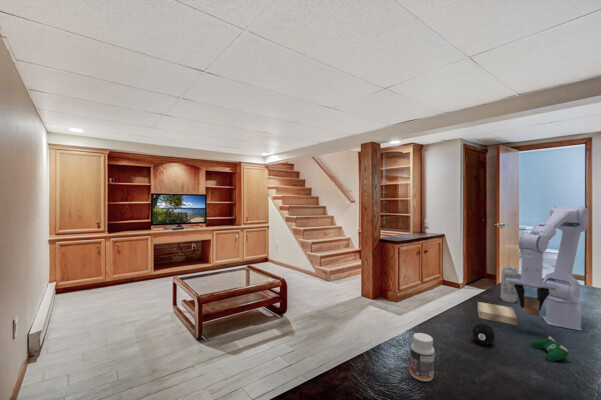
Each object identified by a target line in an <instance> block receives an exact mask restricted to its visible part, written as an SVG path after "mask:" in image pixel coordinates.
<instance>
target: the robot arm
mask: <svg viewBox="0 0 601 400" xmlns="http://www.w3.org/2000/svg"><path fill="white" fill-rule="evenodd" d="M589 219H590V214H589V210H588V208H587V207H585V206H568V205H567V206H566V205H564V206H563V205H562V206H561V205H560V206H558V205H553V206H552V207H551V208H550V211H549V217H548V218H547V219H546V220H545V222H539V223H538V224H537V225H536V226H535V227H534V228H532V230H531V231H530V232H529V233H528V232H527V233H524V234H521V235H520V236H519V238H518V247H519V253H520V254H521V269H520V270H521V271H520V273H521V274H520V278H518V279H511V278H505V283H506V285H514V287H515V289H516V291H517V298H518V301H519V306H520V308H521V309H522V308H524V296H525V291H526V290H525V287H526V288H533V289H536V293H537V294H536V295H537V297H536V298H537V299H538V300H539V312H541V310H542V307H543V304H544V302H545V300H546V311H545V312H546V314H545V316H542V319H543V320H544V321H545V323H546V324H547V325H549V326H554V327H560V328H565V329H570V330H575V331H576V330H577V331H582V314H583V313H582V312H583V311H582V307H581V304H580V303H579V302H578V301H579V299H580V295H581V289H580V288H581V287H580V286H581V284H580V282H579V281H578V280H577V279H576V278H575V277H574V276H573V275H572V274H573V269H574V264H575V260H576V257H577V256H576V255H577V250H578V245H579V241H580V236H581V233H583V232H585V231H586V230H587V228H588V226H589V225H588V224H589V222H590V221H589ZM557 229H558V230H560V231H561V232H562V233H561V239H560V243H559V248H558V252H557V257H556V261H555V267H554V271H552V272H550V273H546V274H545V276H544V279H543V267H544V266H543V264H544V261H543V260H544V252H546V251H547V249H548V245H549V243H550V241H551V240H552V239H553V238H554V236H555V235H556V234H557Z"/></svg>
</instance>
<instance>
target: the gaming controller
mask: <svg viewBox="0 0 601 400" xmlns="http://www.w3.org/2000/svg"><path fill="white" fill-rule="evenodd" d="M531 347H532V348H534V349H539V350H540V349H541V350H545V351H546V352H547V353H546V355H545V356H544V358H545V360H546V361H548V362H549V361H550V362H555V361H560V360H563V359H566V358H567V357H568V355H570V354H569V350H568V349H567V348H566V347H564V346H563V345H562V344H560V343H558V342H556V341H555V339H554V338H552V336H549V335H548V337H547V338H545V339H535V340H533V341H531Z"/></svg>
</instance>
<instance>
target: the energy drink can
mask: <svg viewBox="0 0 601 400" xmlns="http://www.w3.org/2000/svg"><path fill="white" fill-rule="evenodd" d="M518 277H519V272H518V271H517V267H512V266H503V267H502V270H501V278H500V279H501V280H500V281H501V282H500V299H501V300H502V302H505V303H511V304H514V303H516V302H517V301H518V294H517V291H516V289H515V287H514V285H506V283H505V278H511V279H519V278H518Z"/></svg>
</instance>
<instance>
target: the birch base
mask: <svg viewBox="0 0 601 400" xmlns="http://www.w3.org/2000/svg"><path fill="white" fill-rule="evenodd" d="M476 306H477V314H478V318H479V319H483V320H489V321H494V322H500V323H506V324H508V325H509V324H510V325H515V326H518V316H517V314H516V313H515V310H514V308H513V307H510V306H505V305H499V304H492V303H486V302H480V301H477V303H476Z"/></svg>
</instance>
